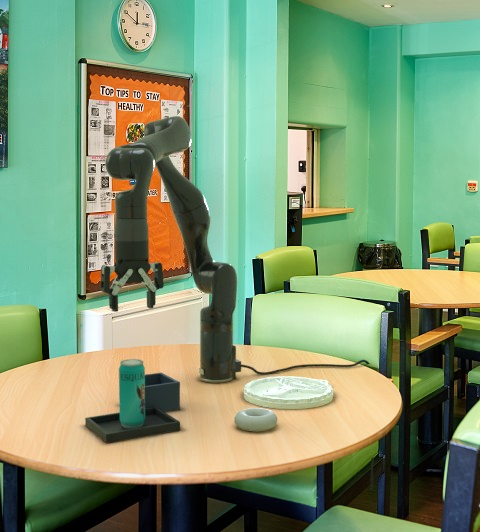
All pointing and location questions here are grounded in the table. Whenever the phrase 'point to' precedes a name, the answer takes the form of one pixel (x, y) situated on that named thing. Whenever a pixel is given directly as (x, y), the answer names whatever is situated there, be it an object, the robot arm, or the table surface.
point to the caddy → (162, 392)
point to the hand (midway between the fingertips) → (132, 309)
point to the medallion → (288, 392)
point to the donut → (255, 419)
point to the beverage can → (132, 393)
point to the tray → (113, 430)
